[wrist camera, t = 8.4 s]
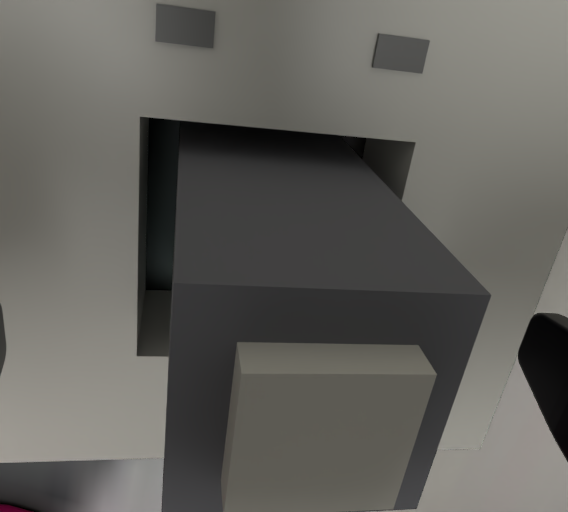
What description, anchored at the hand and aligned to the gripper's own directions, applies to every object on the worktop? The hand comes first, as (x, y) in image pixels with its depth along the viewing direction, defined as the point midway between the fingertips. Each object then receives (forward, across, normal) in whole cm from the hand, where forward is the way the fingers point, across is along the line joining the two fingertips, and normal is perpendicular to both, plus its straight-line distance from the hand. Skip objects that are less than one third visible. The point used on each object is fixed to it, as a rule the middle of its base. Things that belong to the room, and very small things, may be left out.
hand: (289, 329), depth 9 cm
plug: (+6, 0, 0) cm, 6 cm away
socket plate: (+6, 0, 0) cm, 6 cm away
